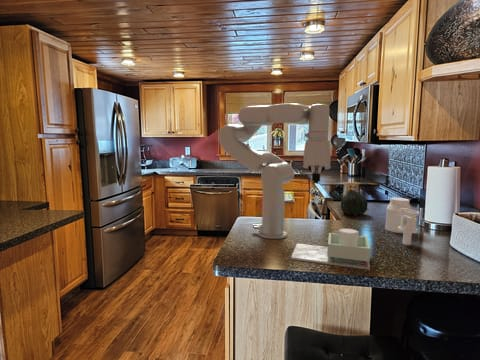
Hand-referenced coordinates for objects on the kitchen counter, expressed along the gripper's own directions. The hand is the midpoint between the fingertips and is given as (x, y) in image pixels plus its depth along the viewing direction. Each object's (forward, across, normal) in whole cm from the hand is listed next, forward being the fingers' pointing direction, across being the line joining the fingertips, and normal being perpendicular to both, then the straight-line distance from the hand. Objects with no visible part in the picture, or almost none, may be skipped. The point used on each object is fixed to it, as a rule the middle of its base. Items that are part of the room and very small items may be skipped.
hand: (315, 183), depth 125 cm
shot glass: (+22, +13, -12) cm, 28 cm away
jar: (+25, +37, +36) cm, 57 cm away
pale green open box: (+24, +13, -12) cm, 30 cm away
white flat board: (+25, +7, -12) cm, 29 cm away
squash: (+25, +18, +62) cm, 69 cm away
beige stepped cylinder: (+25, +37, +14) cm, 47 cm away
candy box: (+25, +17, +87) cm, 92 cm away
